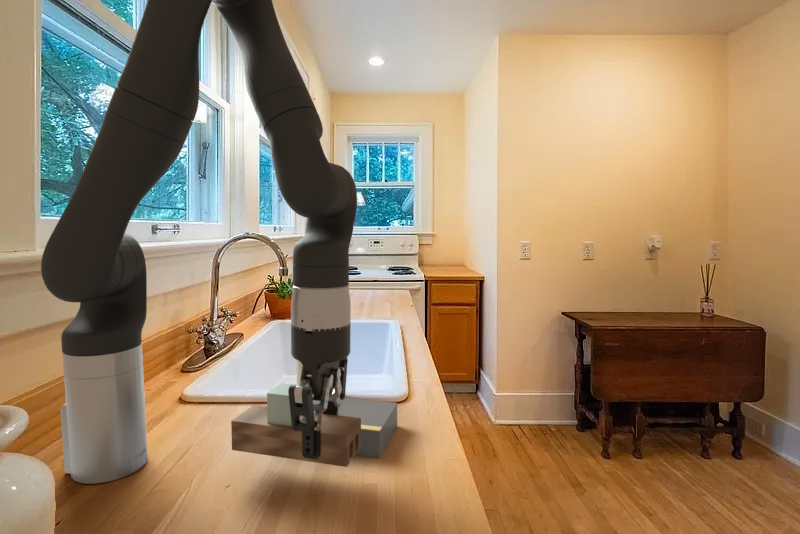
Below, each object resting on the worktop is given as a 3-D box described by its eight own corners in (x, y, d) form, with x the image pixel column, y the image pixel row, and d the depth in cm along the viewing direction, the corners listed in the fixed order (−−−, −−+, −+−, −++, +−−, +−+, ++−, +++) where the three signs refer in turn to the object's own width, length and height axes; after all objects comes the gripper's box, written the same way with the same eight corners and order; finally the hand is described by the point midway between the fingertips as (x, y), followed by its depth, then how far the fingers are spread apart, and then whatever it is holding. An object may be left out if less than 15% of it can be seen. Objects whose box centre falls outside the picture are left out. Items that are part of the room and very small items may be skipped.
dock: (268, 443, 74) (267, 417, 73) (298, 415, 84) (298, 392, 84) (379, 457, 69) (379, 430, 69) (397, 425, 80) (397, 402, 80)
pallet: (231, 449, 62) (231, 420, 62) (254, 431, 68) (253, 404, 67) (346, 467, 59) (347, 436, 58) (360, 446, 64) (361, 418, 64)
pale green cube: (267, 422, 61) (267, 393, 61) (281, 410, 65) (281, 382, 65) (295, 426, 61) (295, 396, 60) (308, 414, 64) (308, 385, 64)
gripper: (316, 307, 68) (316, 420, 70) (266, 330, 54) (267, 470, 56) (366, 311, 67) (364, 426, 68) (327, 335, 53) (326, 479, 54)
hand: (320, 445), depth 62 cm, fingers closed on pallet, 5 cm apart
